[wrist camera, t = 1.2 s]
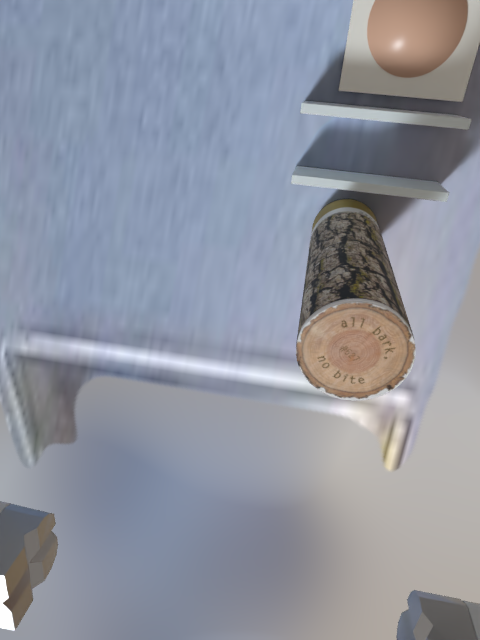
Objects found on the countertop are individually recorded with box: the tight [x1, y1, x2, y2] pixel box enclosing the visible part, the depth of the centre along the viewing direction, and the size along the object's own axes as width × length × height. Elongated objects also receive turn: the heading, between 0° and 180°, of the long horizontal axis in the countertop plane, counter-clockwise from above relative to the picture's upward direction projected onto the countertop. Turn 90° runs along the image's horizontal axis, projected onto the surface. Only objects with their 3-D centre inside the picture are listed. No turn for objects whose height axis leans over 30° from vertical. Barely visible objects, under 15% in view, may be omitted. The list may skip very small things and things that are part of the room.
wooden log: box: [296, 199, 415, 400], centre depth 37 cm, size 7×7×25 cm
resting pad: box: [339, 0, 480, 102], centre depth 38 cm, size 11×11×1 cm
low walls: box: [291, 101, 472, 202], centre depth 41 cm, size 7×14×5 cm, turn 85°
